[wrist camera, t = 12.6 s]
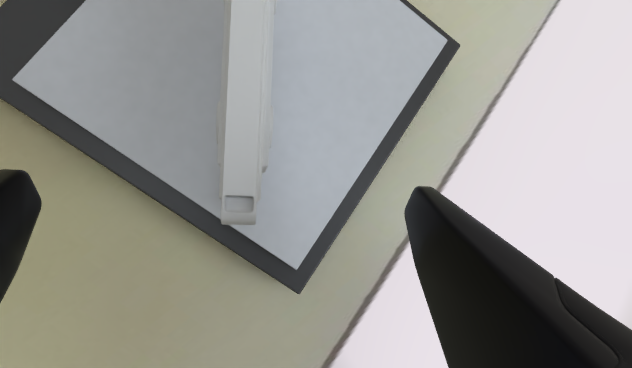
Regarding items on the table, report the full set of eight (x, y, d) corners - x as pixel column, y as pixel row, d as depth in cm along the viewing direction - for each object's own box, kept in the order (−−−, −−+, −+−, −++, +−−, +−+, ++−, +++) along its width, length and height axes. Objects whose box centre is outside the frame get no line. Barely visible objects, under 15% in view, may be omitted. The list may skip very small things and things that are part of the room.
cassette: (263, 218, 16) (275, 228, 8) (223, 218, 16) (198, 227, 8) (272, -20, 17) (290, -203, 9) (234, -26, 16) (221, -221, 9)
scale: (440, 60, 22) (470, 37, 19) (293, 285, 19) (301, 299, 16) (193, -141, 20) (183, -202, 17) (-17, 80, 17) (-74, 53, 14)
